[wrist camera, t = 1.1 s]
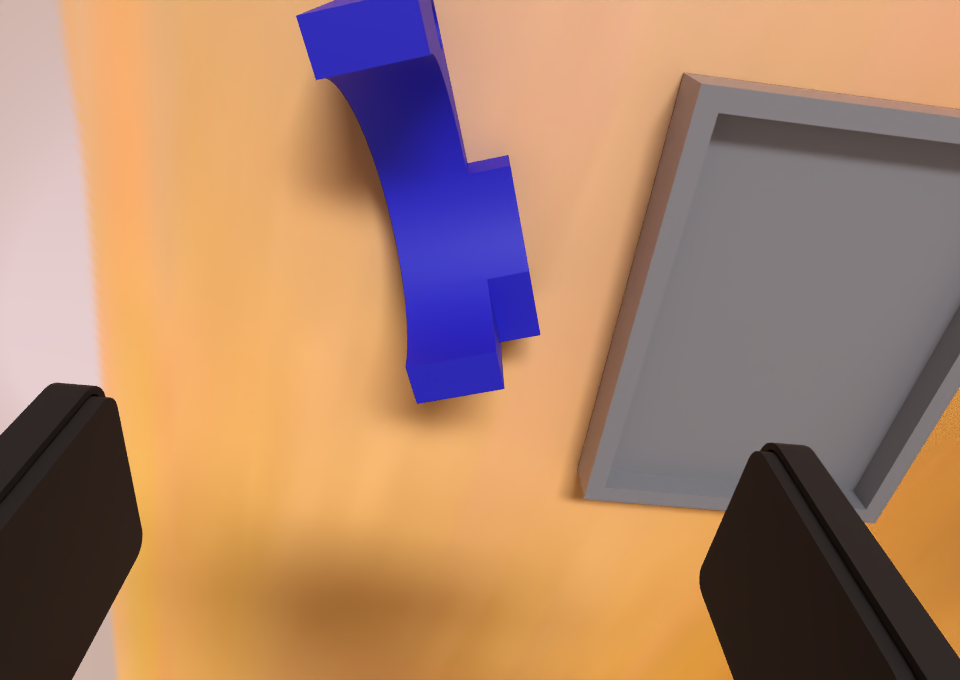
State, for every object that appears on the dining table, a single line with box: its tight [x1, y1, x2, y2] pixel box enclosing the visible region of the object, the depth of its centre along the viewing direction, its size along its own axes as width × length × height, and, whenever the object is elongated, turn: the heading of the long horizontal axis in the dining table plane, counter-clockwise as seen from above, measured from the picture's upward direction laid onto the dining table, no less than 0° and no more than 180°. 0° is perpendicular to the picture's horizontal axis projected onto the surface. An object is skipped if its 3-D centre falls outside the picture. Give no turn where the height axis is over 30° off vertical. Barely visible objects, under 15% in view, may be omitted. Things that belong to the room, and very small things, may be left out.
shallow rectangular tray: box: [578, 73, 960, 523], centre depth 26 cm, size 14×18×2 cm
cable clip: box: [296, 0, 540, 404], centre depth 21 cm, size 12×4×6 cm, turn 11°
